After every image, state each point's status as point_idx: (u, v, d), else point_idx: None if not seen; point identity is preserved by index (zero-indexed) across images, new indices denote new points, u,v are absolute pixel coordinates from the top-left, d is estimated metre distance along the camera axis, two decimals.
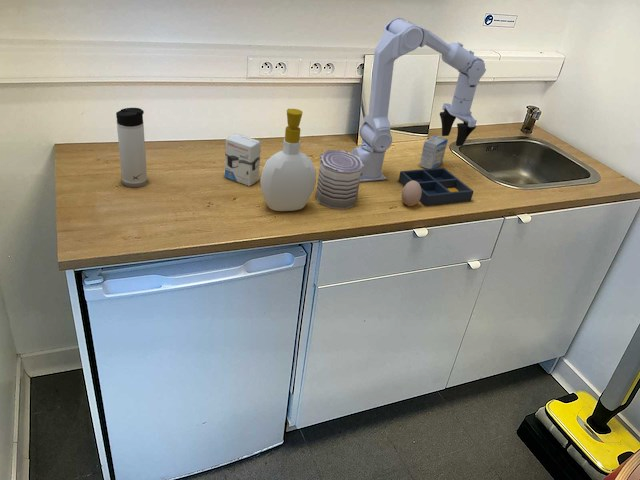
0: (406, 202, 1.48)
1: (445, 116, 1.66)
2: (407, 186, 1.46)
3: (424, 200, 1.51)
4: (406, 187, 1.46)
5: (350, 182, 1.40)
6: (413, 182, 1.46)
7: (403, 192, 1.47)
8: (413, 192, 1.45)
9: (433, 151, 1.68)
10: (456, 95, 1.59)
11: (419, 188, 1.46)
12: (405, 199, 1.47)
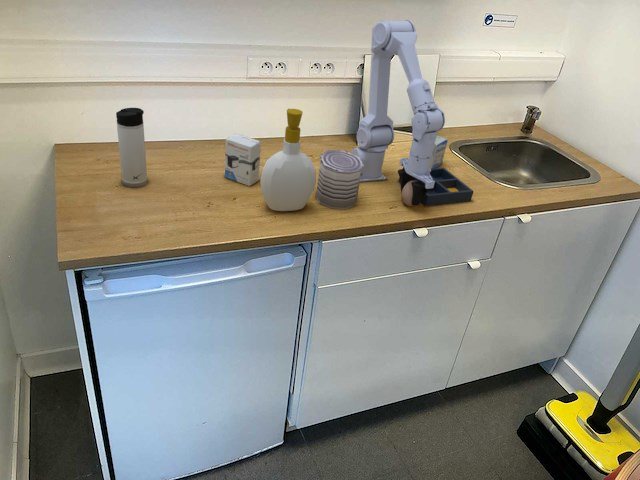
0: (406, 202, 1.48)
1: (403, 174, 1.47)
2: (407, 186, 1.46)
3: (424, 200, 1.51)
4: (406, 187, 1.46)
5: (350, 182, 1.40)
6: None
7: (403, 192, 1.47)
8: None
9: (433, 151, 1.68)
10: None
11: None
12: (405, 199, 1.47)
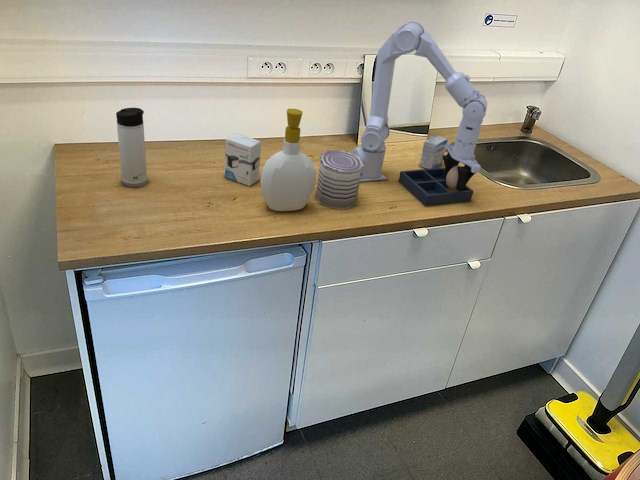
0: (451, 186, 1.54)
1: (448, 160, 1.54)
2: (452, 171, 1.53)
3: (424, 200, 1.51)
4: (451, 172, 1.53)
5: (350, 182, 1.40)
6: None
7: (448, 177, 1.54)
8: None
9: (433, 151, 1.68)
10: None
11: None
12: (450, 183, 1.54)
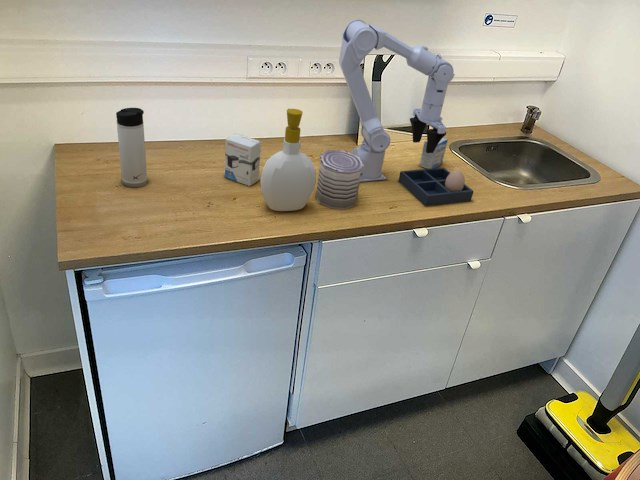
0: (450, 191, 1.55)
1: (415, 122, 1.60)
2: (451, 175, 1.53)
3: (424, 200, 1.51)
4: (450, 176, 1.54)
5: (350, 182, 1.40)
6: (457, 171, 1.53)
7: (447, 181, 1.54)
8: (457, 181, 1.53)
9: None
10: (424, 100, 1.53)
11: (462, 177, 1.53)
12: (449, 188, 1.54)
